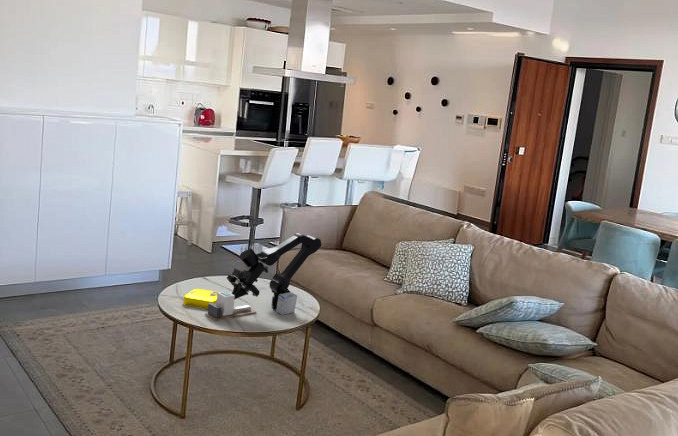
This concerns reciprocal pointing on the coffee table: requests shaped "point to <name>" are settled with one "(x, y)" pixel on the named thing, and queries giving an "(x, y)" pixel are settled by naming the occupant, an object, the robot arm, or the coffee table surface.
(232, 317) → the mounting board
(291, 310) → the medicine box
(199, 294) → the element tile
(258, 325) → the coffee table surface
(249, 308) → the rail
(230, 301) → the block
